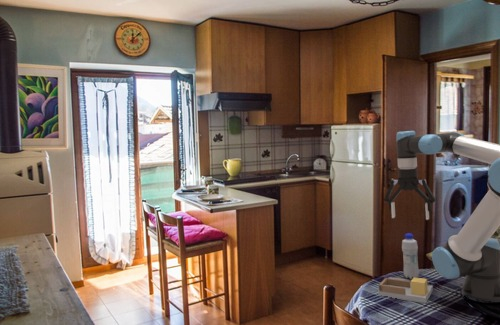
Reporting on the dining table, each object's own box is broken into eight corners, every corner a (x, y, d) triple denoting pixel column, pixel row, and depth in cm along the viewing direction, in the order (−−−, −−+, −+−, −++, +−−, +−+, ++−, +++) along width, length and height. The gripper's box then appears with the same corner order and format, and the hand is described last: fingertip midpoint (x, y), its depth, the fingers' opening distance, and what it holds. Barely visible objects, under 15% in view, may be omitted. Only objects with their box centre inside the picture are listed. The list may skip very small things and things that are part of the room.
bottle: (400, 276, 180) (397, 233, 179) (412, 274, 182) (410, 230, 181) (410, 281, 173) (407, 235, 172) (423, 278, 175) (420, 233, 174)
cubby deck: (433, 290, 161) (432, 279, 161) (426, 303, 150) (425, 291, 150) (388, 284, 172) (387, 274, 172) (378, 295, 160) (377, 284, 160)
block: (427, 291, 156) (427, 278, 156) (425, 295, 152) (424, 283, 152) (414, 289, 159) (413, 277, 159) (411, 293, 155) (410, 281, 154)
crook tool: (409, 283, 166) (408, 279, 166) (406, 286, 163) (406, 282, 163) (389, 280, 170) (389, 277, 170) (387, 283, 167) (386, 279, 167)
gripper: (441, 166, 162) (444, 217, 163) (380, 167, 176) (382, 215, 177) (438, 168, 156) (441, 221, 157) (374, 169, 170) (377, 218, 171)
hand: (410, 218), depth 167 cm, fingers open, 13 cm apart
